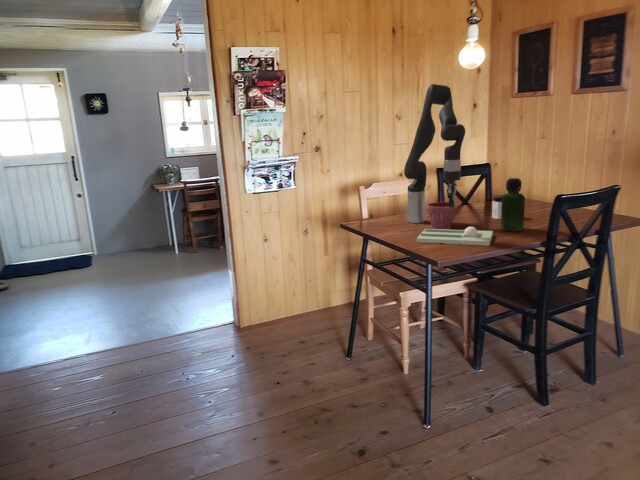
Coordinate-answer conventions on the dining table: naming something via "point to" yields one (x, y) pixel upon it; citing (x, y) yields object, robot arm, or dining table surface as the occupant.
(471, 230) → the ball
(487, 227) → the dining table surface
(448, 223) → the plant pot
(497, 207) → the jar
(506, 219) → the dark green tall piece
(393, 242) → the dining table surface
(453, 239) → the putting mat
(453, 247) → the dining table surface
